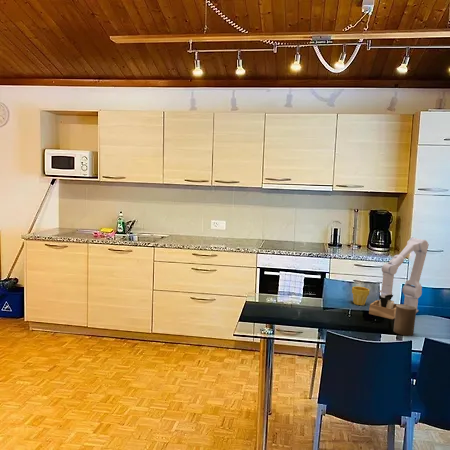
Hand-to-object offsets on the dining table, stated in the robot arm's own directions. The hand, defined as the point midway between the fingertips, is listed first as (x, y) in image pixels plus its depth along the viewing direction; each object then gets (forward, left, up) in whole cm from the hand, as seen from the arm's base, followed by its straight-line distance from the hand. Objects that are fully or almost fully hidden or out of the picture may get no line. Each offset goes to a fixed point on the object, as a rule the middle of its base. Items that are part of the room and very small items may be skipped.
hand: (384, 307), depth 270 cm
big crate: (0, 0, -4) cm, 4 cm away
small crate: (0, 0, -2) cm, 2 cm away
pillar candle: (+26, +17, -4) cm, 31 cm away
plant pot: (-10, -18, -4) cm, 21 cm away
